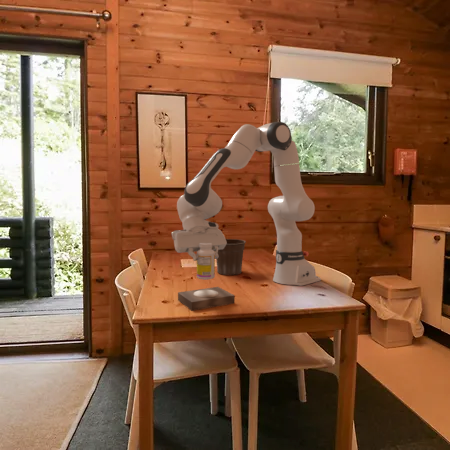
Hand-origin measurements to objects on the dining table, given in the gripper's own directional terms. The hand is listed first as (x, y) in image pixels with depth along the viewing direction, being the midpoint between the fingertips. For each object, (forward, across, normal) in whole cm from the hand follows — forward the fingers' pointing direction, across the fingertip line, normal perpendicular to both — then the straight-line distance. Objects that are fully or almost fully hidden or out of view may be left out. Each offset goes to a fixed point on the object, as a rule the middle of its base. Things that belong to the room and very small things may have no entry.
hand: (206, 258), depth 126 cm
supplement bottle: (+5, 0, +6) cm, 7 cm away
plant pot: (-15, +31, +38) cm, 51 cm away
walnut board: (+11, 0, +12) cm, 16 cm away
